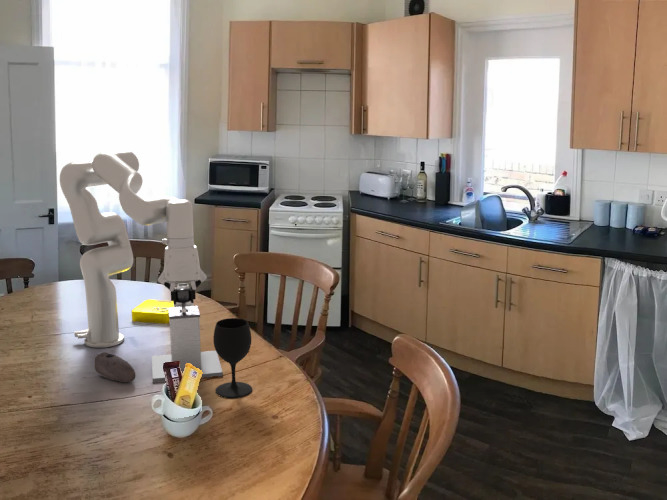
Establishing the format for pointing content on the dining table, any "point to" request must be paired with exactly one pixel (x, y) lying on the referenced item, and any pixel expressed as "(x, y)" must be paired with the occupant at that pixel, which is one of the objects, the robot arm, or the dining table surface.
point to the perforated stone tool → (114, 367)
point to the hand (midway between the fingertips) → (183, 301)
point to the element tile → (152, 311)
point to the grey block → (185, 335)
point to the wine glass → (232, 352)
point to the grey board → (208, 367)
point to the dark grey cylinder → (183, 296)
